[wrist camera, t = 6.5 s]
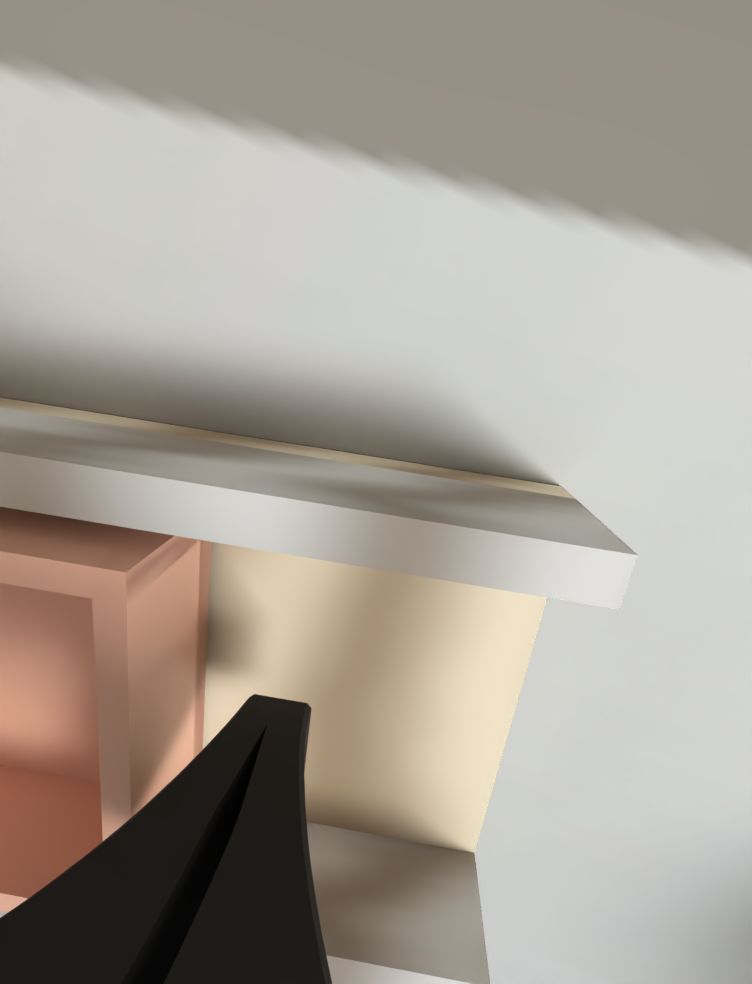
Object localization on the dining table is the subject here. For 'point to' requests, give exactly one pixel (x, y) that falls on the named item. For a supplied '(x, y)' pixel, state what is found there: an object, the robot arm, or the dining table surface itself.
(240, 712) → the robot arm
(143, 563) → the crate
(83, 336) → the dining table surface
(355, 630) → the bay
